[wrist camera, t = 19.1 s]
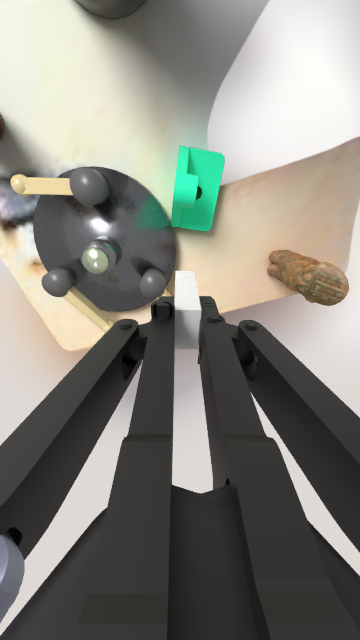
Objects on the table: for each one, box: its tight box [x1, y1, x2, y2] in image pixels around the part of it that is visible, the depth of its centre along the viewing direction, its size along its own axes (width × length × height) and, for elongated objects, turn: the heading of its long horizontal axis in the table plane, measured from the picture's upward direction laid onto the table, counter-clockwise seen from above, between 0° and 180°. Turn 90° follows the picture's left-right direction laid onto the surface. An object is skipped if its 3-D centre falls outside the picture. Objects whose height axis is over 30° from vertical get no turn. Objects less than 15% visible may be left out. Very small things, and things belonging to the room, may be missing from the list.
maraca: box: [11, 167, 110, 205], centre depth 35 cm, size 14×5×5 cm, turn 89°
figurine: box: [267, 250, 349, 306], centre depth 40 cm, size 8×8×15 cm
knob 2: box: [140, 267, 172, 299], centre depth 46 cm, size 18×5×5 cm, turn 38°
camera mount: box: [171, 146, 225, 231], centre depth 35 cm, size 12×8×10 cm, turn 172°
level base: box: [33, 166, 176, 311], centre depth 40 cm, size 28×28×10 cm
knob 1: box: [42, 266, 115, 333], centre depth 46 cm, size 18×5×5 cm, turn 38°
